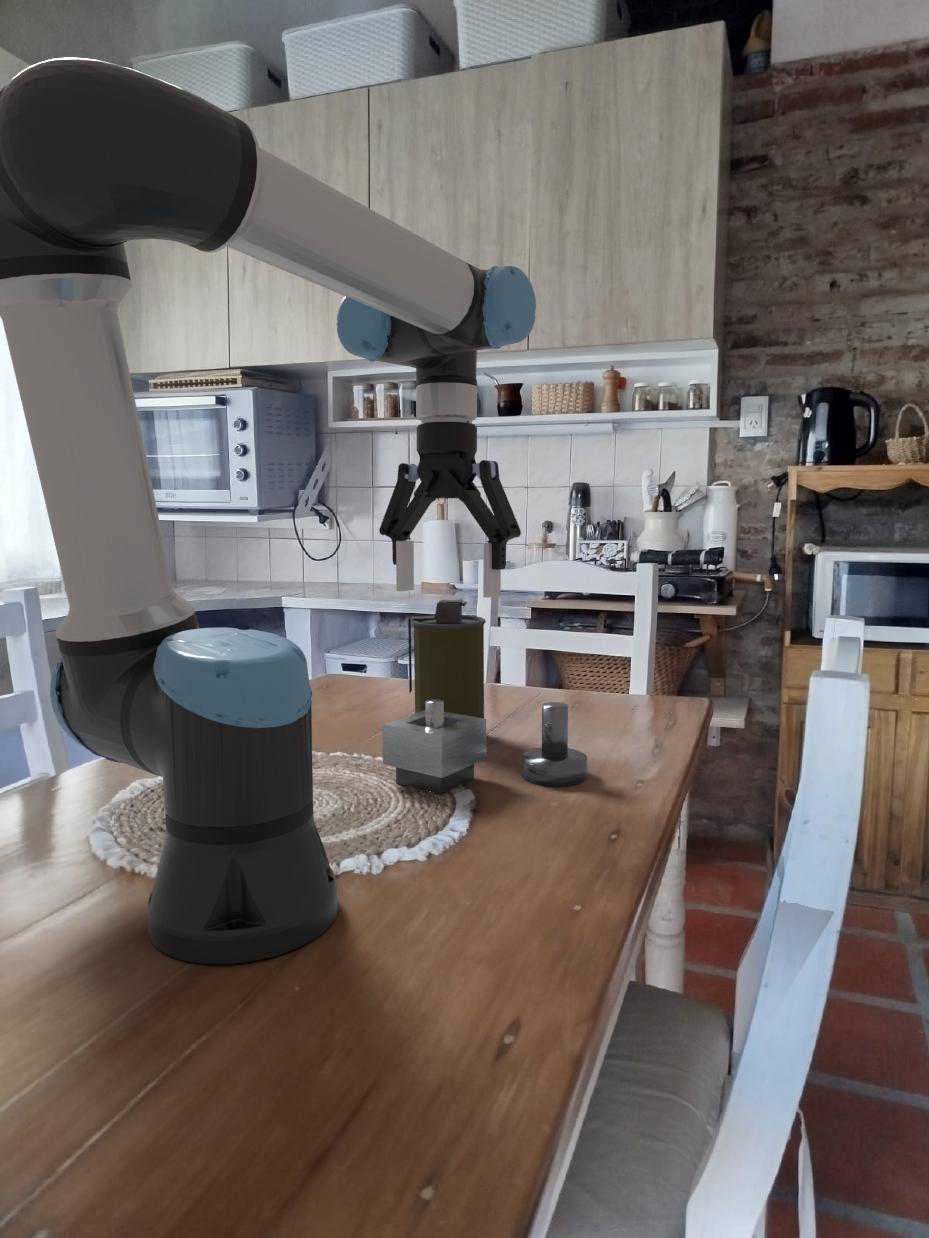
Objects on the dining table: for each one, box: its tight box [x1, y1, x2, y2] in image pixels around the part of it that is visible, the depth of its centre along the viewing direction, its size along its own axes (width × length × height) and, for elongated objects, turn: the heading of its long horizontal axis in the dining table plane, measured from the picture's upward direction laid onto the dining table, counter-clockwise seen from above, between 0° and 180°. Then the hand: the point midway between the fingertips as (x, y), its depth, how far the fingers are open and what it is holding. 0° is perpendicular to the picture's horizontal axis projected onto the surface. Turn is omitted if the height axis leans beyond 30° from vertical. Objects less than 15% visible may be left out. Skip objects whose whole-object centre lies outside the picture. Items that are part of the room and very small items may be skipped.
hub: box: [521, 701, 588, 788], centre depth 104 cm, size 8×8×9 cm
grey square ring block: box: [381, 710, 487, 778], centre depth 103 cm, size 9×9×5 cm
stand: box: [395, 699, 475, 795], centre depth 103 cm, size 7×7×10 cm
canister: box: [407, 599, 487, 719], centre depth 121 cm, size 11×10×20 cm
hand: (447, 593), depth 107 cm, fingers open, 13 cm apart
